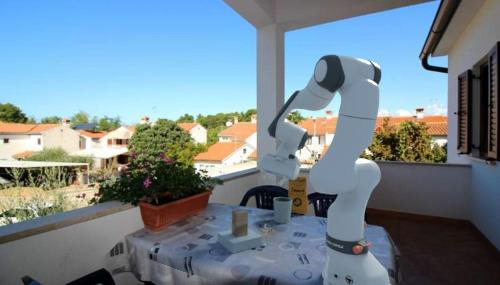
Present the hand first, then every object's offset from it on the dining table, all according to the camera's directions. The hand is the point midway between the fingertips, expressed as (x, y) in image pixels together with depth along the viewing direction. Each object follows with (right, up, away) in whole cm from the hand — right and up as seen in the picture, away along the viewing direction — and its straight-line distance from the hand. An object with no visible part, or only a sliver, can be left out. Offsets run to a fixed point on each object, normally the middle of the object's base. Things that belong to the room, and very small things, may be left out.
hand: (270, 182), depth 117 cm
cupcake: (+42, -25, +7) cm, 49 cm away
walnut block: (-14, -21, -5) cm, 26 cm away
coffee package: (+20, -25, +41) cm, 51 cm away
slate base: (-14, -25, -5) cm, 29 cm away
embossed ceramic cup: (+9, -25, +25) cm, 36 cm away
